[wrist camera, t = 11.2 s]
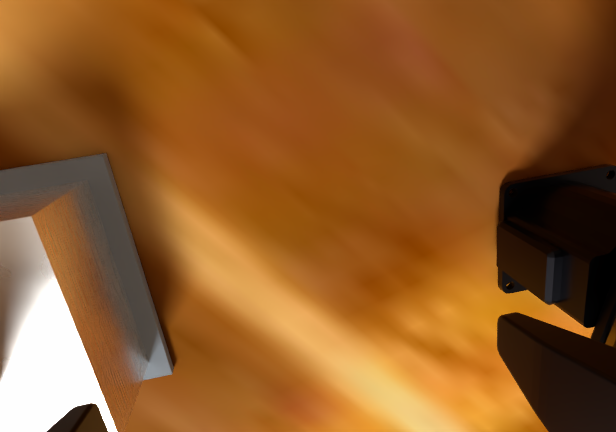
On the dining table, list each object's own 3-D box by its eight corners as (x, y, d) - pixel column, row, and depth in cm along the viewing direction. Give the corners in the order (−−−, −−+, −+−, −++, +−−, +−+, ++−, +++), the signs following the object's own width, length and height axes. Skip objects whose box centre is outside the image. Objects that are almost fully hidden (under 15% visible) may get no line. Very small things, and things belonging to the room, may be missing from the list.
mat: (106, 152, 18) (102, 154, 18) (173, 367, 22) (172, 374, 22) (-183, 199, 17) (-195, 203, 17) (-58, 415, 21) (-64, 423, 21)
